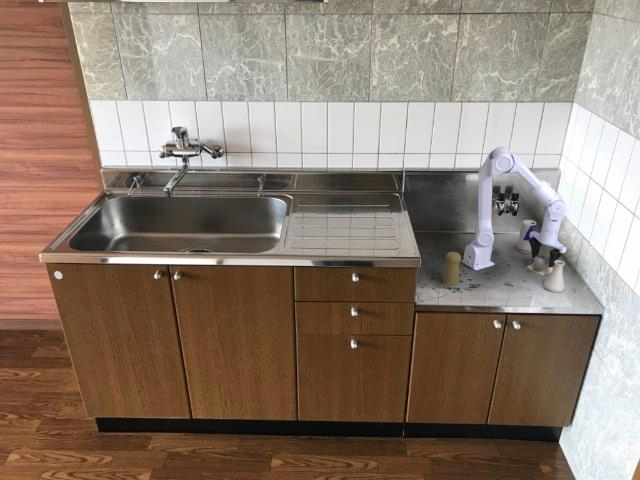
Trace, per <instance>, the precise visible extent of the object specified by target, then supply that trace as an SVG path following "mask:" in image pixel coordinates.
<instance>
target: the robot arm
mask: <svg viewBox="0 0 640 480" xmlns="http://www.w3.org/2000/svg"><path fill="white" fill-rule="evenodd" d="M506 172H509V174H511V173H512V174H515V173H516V174H517V175H518V176H519V177H520V178H522V179H523V181H525V183H526V184H528V185H529V186H530V187H531V190H530V192H531V194H532V195H533V196H534V197H535V198H536V199H537V200H538V201H539V202H540V203H541V204H542V205H543V206H546V208H545V212H544V217H543V220H542V221H543V222H542V225H541V230H540V232H537V231H533V232H530V236H529V237H531V239H530V240H529V243H530V246H531V258H532V259H535V256H536V255H539V254H540V250H541V247H542V245H545V246H547V247H550V248H553V249H551V250H549V251H548V253H549V256H550V261H549V267H550V268H554V265H555V263H554V261H556V260H559V259H560V258H561V257H562V255H564V253H566V251H567V249H568V248H567V247H566V246H565V245H564V244H562V243H561V242H560V241H559V240H558V237H559V233H560V228H561V224H562V220H563V215H564V214H565V213H566V211H568V210H567V204H566V202H565V200H564V198H563V197H562V195H561V194H560V192H556V191H555V190H554V188H552V184H551V183H550V181H546V180H543V179H538V177H536V176H535V174H534V172H532V171H531V169H529V168H528V166H527V165H526V163H524V162H523V161H522V160H521V159H520V158H519V157H518V156H517V155H516V154H515V153H514V152H511V151H510V149H509V148H508V147H506V146H498V147H495V148H494V149H493V150H491V151H490V152H489V153H488V155H487V157H486V159H485V160H484V161H483V164H481V166H480V167H479V169H478V178H477V179H478V185H477V186H478V187H477V188H478V190H477V191H478V193H477V194H478V196H477V198H478V199H477V213H478V214H477V222H476V224H475V226H474V231H475V236H474V237H473V238H472V240H471V242H470V243H468V244H467V245H466V246H465V248H464V253H463V259H461V262H462V263H463V264H464V265H467V267H469V268H471V269H472V270H474V271H479V270H483V269H486V268H491V267H493V266H495V263H494V262H493V261H491V256H492V250H493V247H494V241H495V235H494V231H493V225H492V204H493V203H492V202H493V201H492V197H493V196H492V195H493V180H494V178H496V176H498V175H502V174H503V173H506Z"/></svg>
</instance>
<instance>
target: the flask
mask: <svg viewBox="0 0 640 480" xmlns="http://www.w3.org/2000/svg"><path fill="white" fill-rule="evenodd" d="M554 263H555V265H554V267H552V268H553V270H552V272H551V273H550V274H548V276H547V277H546V279H545V280H544V282H543V283H542V287H543V289H545V290H548V291H550V292H553V293H562V292H564V291H565V290H566V288H565V283H564V282H565V281H564V275H563V268H564V266H565V262H564V260H559V259H558V260H556V261H554Z"/></svg>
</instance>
